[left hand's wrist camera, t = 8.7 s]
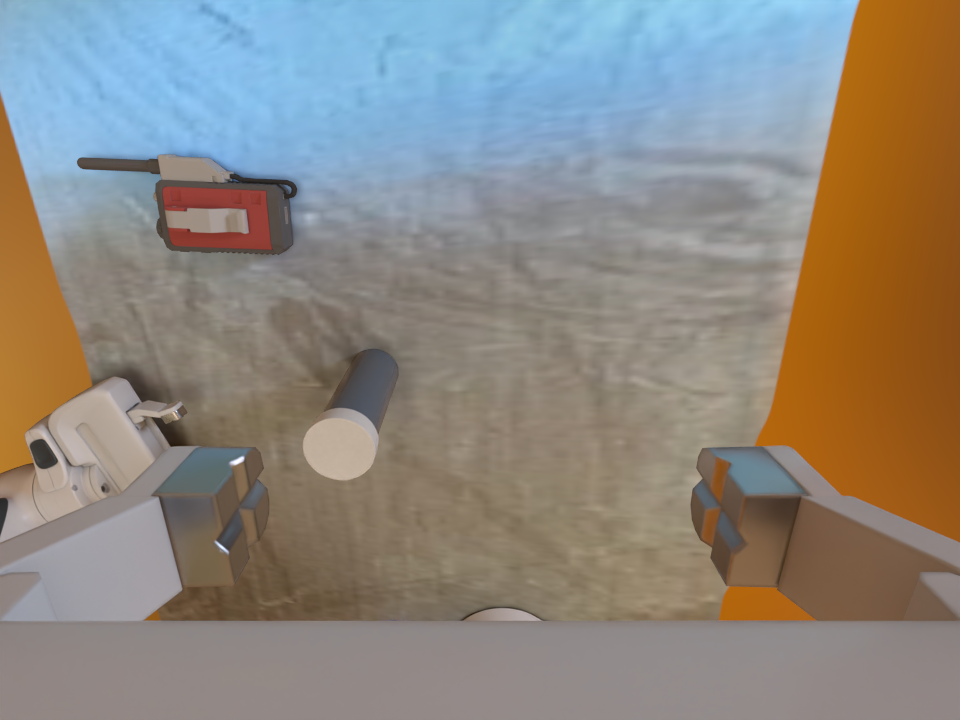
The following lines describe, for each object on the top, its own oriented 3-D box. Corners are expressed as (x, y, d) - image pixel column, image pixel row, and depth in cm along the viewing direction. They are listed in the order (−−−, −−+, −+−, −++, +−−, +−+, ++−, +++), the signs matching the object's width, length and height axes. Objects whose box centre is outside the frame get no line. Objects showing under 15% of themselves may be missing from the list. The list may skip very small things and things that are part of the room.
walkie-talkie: (298, 159, 52) (85, 150, 51) (283, 161, 47) (51, 151, 47) (305, 252, 55) (105, 244, 55) (291, 261, 51) (75, 252, 50)
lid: (301, 455, 47) (295, 467, 45) (319, 398, 45) (313, 408, 43) (367, 476, 48) (363, 488, 46) (387, 421, 46) (384, 432, 44)
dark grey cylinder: (345, 383, 61) (301, 462, 46) (358, 342, 59) (317, 410, 44) (389, 398, 61) (361, 481, 46) (404, 358, 59) (379, 431, 45)
